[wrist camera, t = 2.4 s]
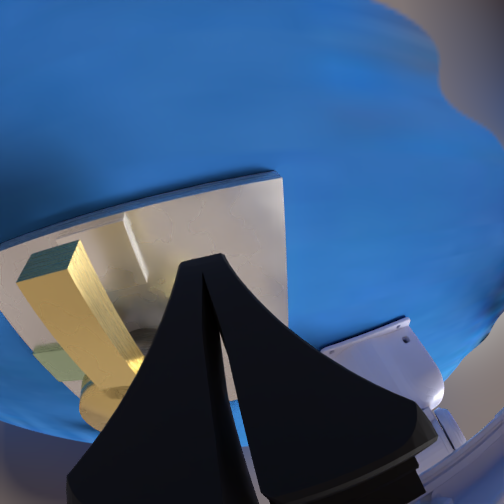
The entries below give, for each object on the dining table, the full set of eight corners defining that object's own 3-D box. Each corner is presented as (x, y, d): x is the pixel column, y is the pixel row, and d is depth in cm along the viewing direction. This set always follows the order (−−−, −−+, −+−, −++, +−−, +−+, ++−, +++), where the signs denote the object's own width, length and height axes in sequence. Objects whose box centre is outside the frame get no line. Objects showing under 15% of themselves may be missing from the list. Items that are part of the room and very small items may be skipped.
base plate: (275, 170, 14) (310, 209, 10) (285, 377, 25) (300, 416, 21) (-23, 253, 11) (-54, 300, 8) (103, 409, 22) (103, 447, 19)
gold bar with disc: (227, 376, 20) (240, 432, 16) (121, 394, 19) (122, 447, 15) (169, 182, 11) (167, 244, 7) (9, 231, 10) (-34, 297, 6)
